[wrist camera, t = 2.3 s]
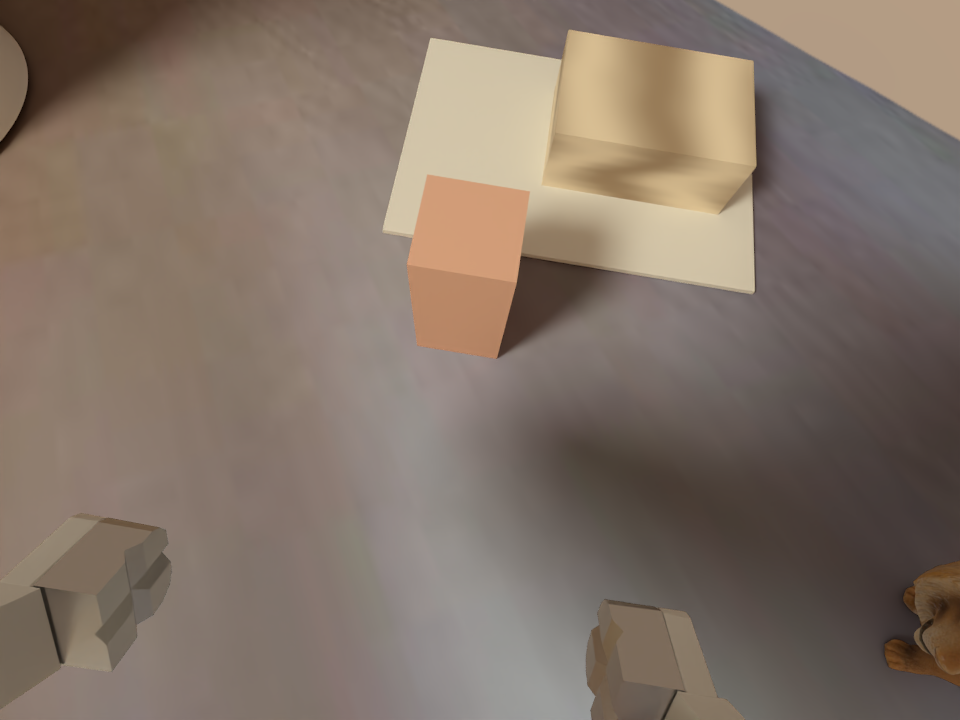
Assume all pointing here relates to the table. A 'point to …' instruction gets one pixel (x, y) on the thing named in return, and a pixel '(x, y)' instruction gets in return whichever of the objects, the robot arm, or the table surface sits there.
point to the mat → (551, 211)
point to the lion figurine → (932, 626)
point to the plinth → (651, 123)
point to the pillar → (465, 264)
